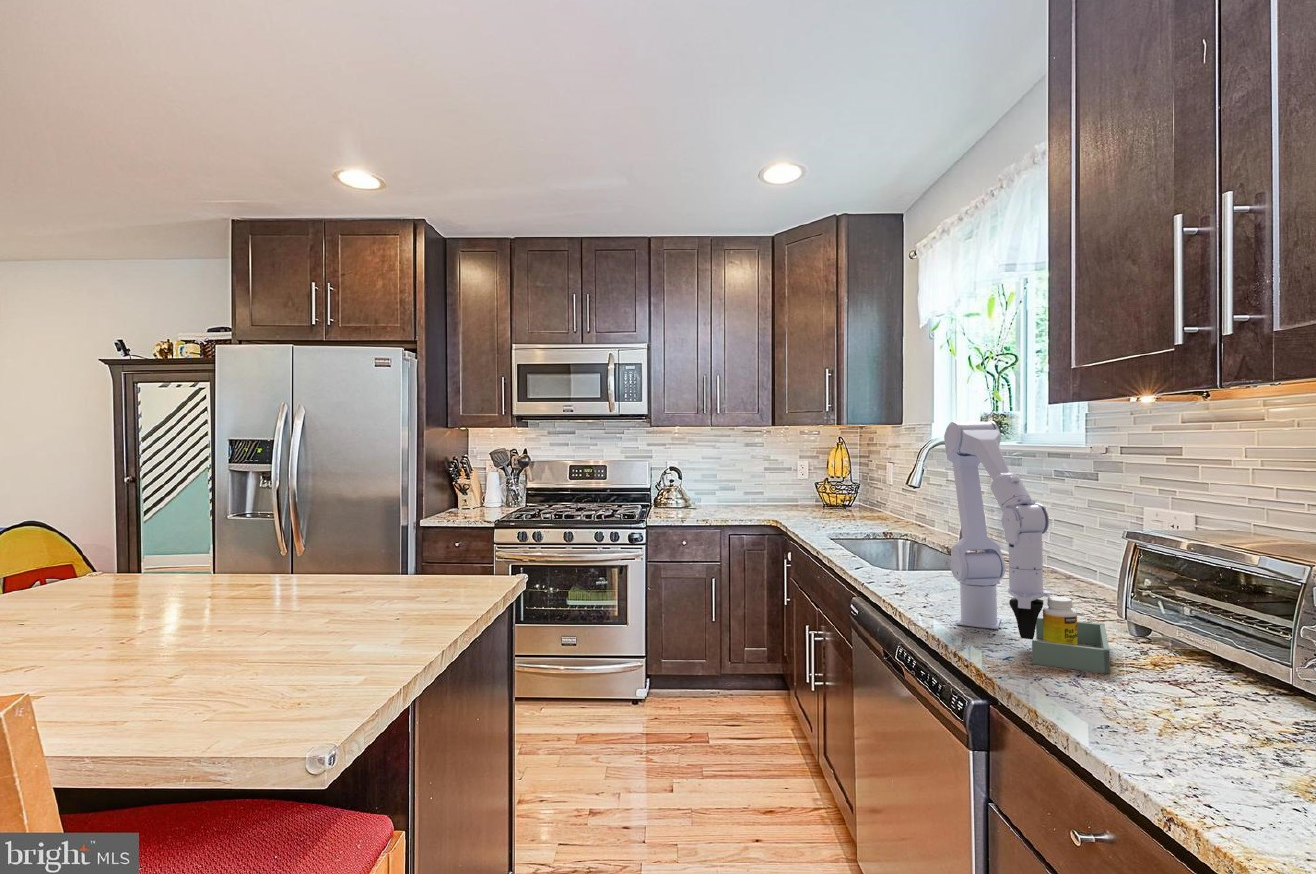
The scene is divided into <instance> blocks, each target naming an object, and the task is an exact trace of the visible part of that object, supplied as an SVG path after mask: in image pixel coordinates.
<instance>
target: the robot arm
mask: <svg viewBox="0 0 1316 874" xmlns="http://www.w3.org/2000/svg"><path fill="white" fill-rule="evenodd" d="M1001 435H1002V434H1001V431H1000V428H999V427H998V424H997V423H996V422H995V421H992V420H989V421H968V422H965V421H964V422H957V421H951V422H949V424H948V425H947V427H946V430H945V432H944V434H943V439H944V446H945V454H946V459H947V461H948V462H951V464H952V469H953V475H954V483H955V490H956V500H957V506H958V513H959V522H960V527H961V528H960V529H961V537H962V538H960V539H959V540H958V541H957V542H956V543H955V544H953V545H952V547H951V548H950V555H951V556H950V566H949V567H950V570H951V575H952V576H953V578H954V579H955V580H956V581H957V582H959V587H960V588H959V589H960V590H959V591H960V594H959V595H960V597H959V598H960V599H959V600H960V617H959V618H958V620H957V622H956V625H958V626H965V627H974V628H975V627H976V628H981V629H982V628H983V629H993V630H999V626H1000V624H1001V621H1002V617H1001V616H998V600H997V599H998V598H997V597H998V596H997V595H998V594H997V592H998V591H997V585H1000V584H1001V583H1000V582H1001V581H1000V580H1002V579H1004V576H1005V575H1006V572H1007V571H1006V570H1007V567H1006V561H1005V559H1004V556H1003V554H1002V550H1001V546H1000V544H998V543H997V542H995V541H994V540H993V539H991V538H990V537H989V536H988V530H987V521H986V515H985V509H984V503H983V501H984V500H983V493H982V488H981V479H980V474H979V472H980V471H979V465H980V464H981V465H982V466H983V467H984V469H985V470H986V472H987V474H988V475H989V477H990V478H991V479H992V482H991V484H990V490H991V492H992V495H994V497H995V499H996V501H997V504H998V505H999V508H1000V510H1001V511H1002V515H1001V516H1002V517H1000V518H1001V520H1000V521H1001V525H1002V528H1003V531H1004V536H1005V537H1004V538H1005V539H1004V540H1005V542H1006V543H1008V579H1009V582H1008V583H1009V584H1008V586H1009V588H1008V592H1007V593H1008V594H1009V595H1010V596H1011V598H1010V599H1009V602H1008V603H1009V606H1010V608H1011V609H1012V612H1013V614H1014V616H1015V619H1016V624H1017V629H1018V632H1019V633H1018V634H1019V637H1020V639H1025V640H1026V639H1027V640H1031V641H1032V640H1034V639H1035V638H1034V637H1035V635H1036V622H1037V618H1038V617H1039V615H1040V613H1041V611H1042V610H1043V607H1044V600H1043V599H1041V598H1044V597H1047V598H1048V597H1051V591H1049V590H1044V574H1043V573H1044V572H1043V571H1044V568H1043V567H1044V565H1043V564H1044V563H1043V534H1045V533H1046V532H1047V531H1048V529H1049V526H1050V519H1049V518H1050V517H1049V513H1048V511H1047V509H1046V507H1045V506H1044V505H1043V504H1042V503H1038V501H1037V500H1035V499H1032V497H1031V495H1030V494H1029V492H1028V490H1027V488H1026V487H1025V485H1024V483H1023V481H1022V479H1021V478H1020V476H1019V475H1017V474H1015V473H1011V471H1010V469H1009V466H1008V464H1007V462H1006V459H1005V457H1004V454H1003V453H1002V450H1001V448H1000V444H1001ZM972 551H973V552H972ZM974 551H975V552H974ZM978 551H979V552H978ZM1012 597H1013V598H1012Z"/></svg>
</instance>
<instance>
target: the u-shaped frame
mask: <svg viewBox="0 0 1316 874" xmlns="http://www.w3.org/2000/svg"><path fill="white" fill-rule="evenodd" d="M1035 636H1036V637H1035V638H1036V639H1042V640H1043V617H1039V616H1038V618H1037V622H1036V628H1035ZM1077 638H1078V644H1085V645H1093V646H1099V647H1100V648H1099V647H1092V646H1083V645H1078V646H1077V645H1068V644H1060V643H1051V642H1043V641H1040V640H1034V639H1033V640H1032V639H1031V656H1032V665H1038V666H1039V665H1040V666H1046V667H1055V668H1062V669H1068V670H1077V671H1084V672H1091V673H1100V674H1107V675H1111V655H1110V654H1111V653H1110V651H1111V650H1110V647H1109V645H1110V644H1109V640H1108V634H1107V629H1106V625H1105V624H1104V623H1097V622H1087V621H1086V622H1085V621H1078V620H1077Z"/></svg>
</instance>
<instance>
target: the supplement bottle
mask: <svg viewBox="0 0 1316 874" xmlns="http://www.w3.org/2000/svg"><path fill="white" fill-rule="evenodd" d="M1042 618H1043V639H1042V640H1043V642H1051V643H1060V644H1068V645H1077V646H1079V645H1078V644H1079V643H1078V638H1077V621H1078V612H1077V611H1076V610H1075V609H1073V600H1072V599H1071V598H1070V597H1067V596H1066V597H1065V596H1057V595H1055V596H1054V595H1053V596H1049V597H1047V606H1046V607H1044V608H1042Z"/></svg>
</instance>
